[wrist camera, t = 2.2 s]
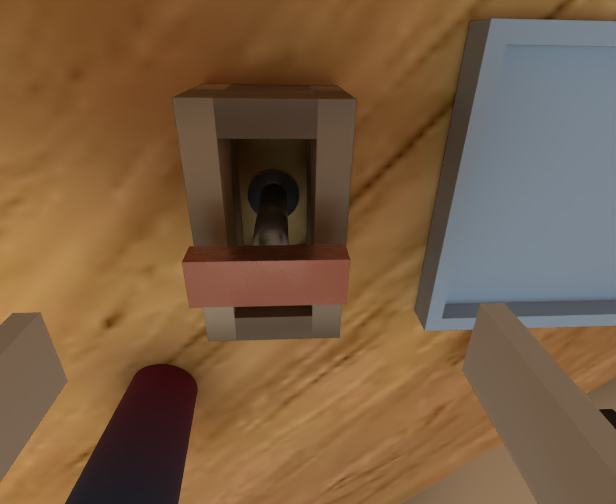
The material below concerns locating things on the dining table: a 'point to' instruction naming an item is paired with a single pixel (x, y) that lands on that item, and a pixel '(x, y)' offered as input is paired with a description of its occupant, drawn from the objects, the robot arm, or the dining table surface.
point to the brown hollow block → (226, 194)
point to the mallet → (267, 259)
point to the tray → (527, 179)
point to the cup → (142, 443)
